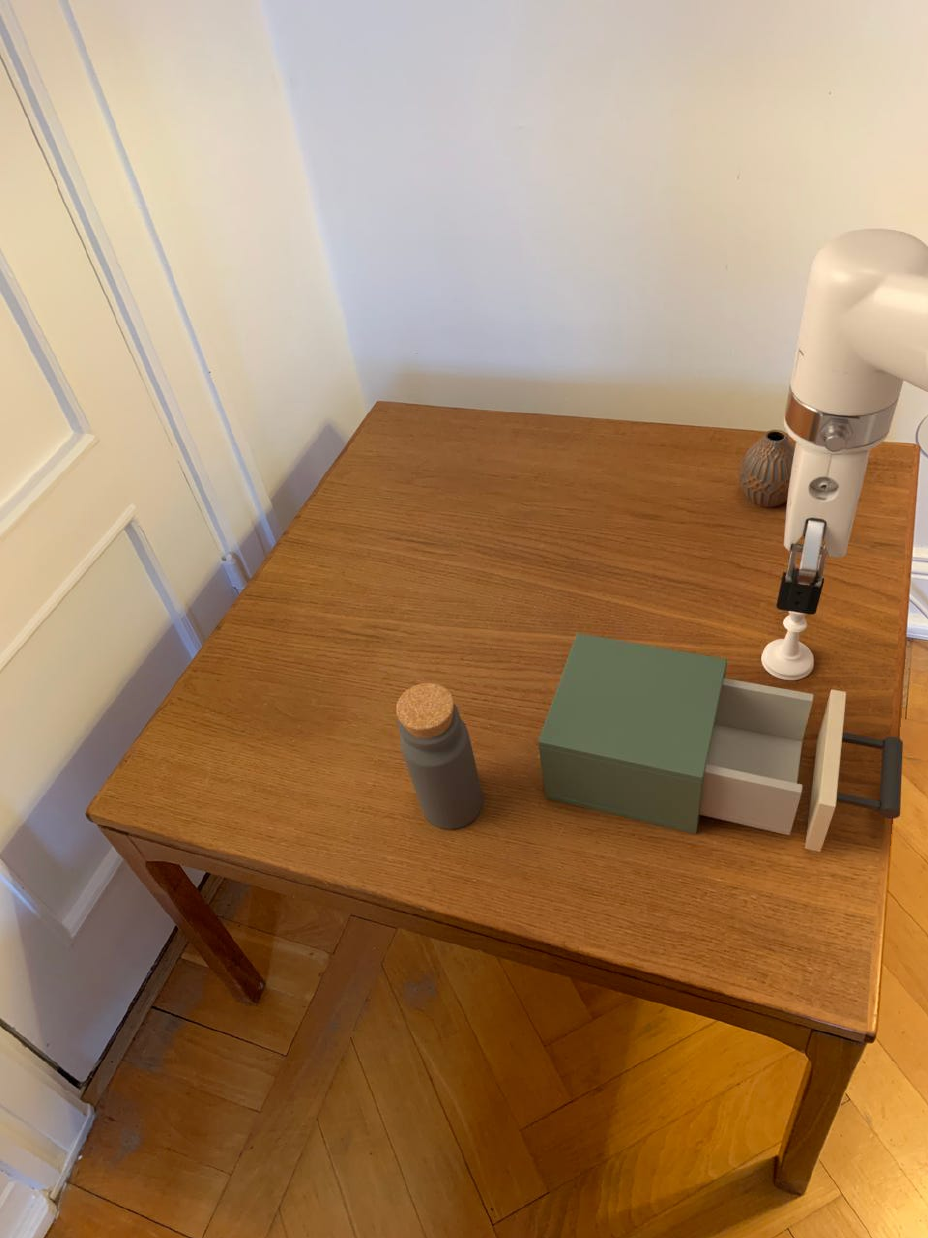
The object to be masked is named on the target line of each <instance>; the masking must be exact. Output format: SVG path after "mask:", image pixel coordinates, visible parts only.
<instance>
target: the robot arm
mask: <svg viewBox="0 0 928 1238" xmlns="http://www.w3.org/2000/svg"><path fill="white" fill-rule="evenodd" d="M807 281H808V282H807V286H806V287H807V288H806V292H805V298H804V304H803V310H802V316H801V321H800V327H799V331H798V337H797V343H796V349H795V355H794V361H793V365H792V366H793V367H792V373H791V378H790V383H789V388H788V392H787V393H788V394H787V398H786V399H787V400H786V404H785V410H784V416H783V427H784V430H785V433H786V434H787V436H789V437H790V439H792V440H793V441H794V442H795V445H794V447H795V451H794V457H793V463H792V469H791V476H790V483H789V490H788V499H787V501H786V511H785V522H784V523H785V524H784V535H783V536H784V537H783V546H784V548H785V549H786V550H787V552H790V553H789V557H788V563H787V568H786V572H784V571H783V572H782V577H781V581H780V586H779V591H778V595H777V601H776V609H778V610H781V611H784V612H785V611H787V612H788V611H791V612H797V613H804V614H807V615H810V616H813V615H815V614H816V613H817V611H818V606H819V603H820V599H821V596H822V595H821V594H822V591H823V588H824V583H825V578H824V577H823V576H824V572H825V568H826V567H825V566H826V562H827V557H829V558H835V559H842V558H843V557H845V556H846V554H847V551H848V545H849V542H850V538H851V533H852V529H853V526H854V521H855V517H856V514H857V509H858V505H859V501H860V498H861V493H862V489H863V485H864V481H865V478H866V472H867V467H868V462H869V458H870V453H871V450H872V449H874V448H876V447H878V446H880V445H881V444H882V443H883V442H885V440H886V439H887V438H888V436H889V433H890V430H891V427H892V423H893V419H894V416H895V412H896V409H897V405H898V402H899V398H900V395H901V390H902V389H903V388H902V387H903V384H904V382H906V383H908V384H910V385H912V386H913V387H916V388H918V389H920V390H923V391H924V392H927V393H928V245H927V244H926V243H925V242H923V241H922V240H921V239H920V238H918V237H916V236H914V235H913V234H910V233H907V232H903V231H900V230H895V229H887V228H865V229H864V228H863V229H857V230H855V229H854V230H852V231H847V232H844V233H841V234H839V235H838V236H835V237H833V238H831V239H829V240H828V241H827V242H825V243H824V245H822V247H821V248H820V249H819V250H818V252H817V253H816V255H815V257H814V259H813V261H812V264H811V267H810V272H809V276H808V280H807ZM803 537H804V540H803V544H800V543H798V542H799V541H800V540H801V538H803ZM822 540H823V544H822ZM821 546H822V547H821ZM798 553H801V557H800V561H799V566H798V568H796V564H797V563H796V562H797V558H798V557H797V556H798Z"/></svg>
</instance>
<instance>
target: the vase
mask: <svg viewBox="0 0 928 1238" xmlns="http://www.w3.org/2000/svg"><path fill="white" fill-rule="evenodd" d="M794 451H795V445H794V444H793V443H792V442H791V441H790V439H789V437H788V433H787V432H786V431H783V430H781V429H770V430H768V431H766V432H765V433H764V435H763V436H762V437H761V438H760V439H759V440H757V441H756V442H755V443H753V444H752V445H751V446H750V447H749V448H748V449H747V450H746V452H745V453H744V455H743V457H742V460H741V462H740V464H739V470H738V481H739V487H740V489H741V492H742V494H743V496H744V497H745V498H746V499H747V500H748V501H749V502H751V503H752V504H754V505H755V506H758V507H762V508H773V507H777V506H780V505H782V504H784V503H787V499H788V490H789V483H790V476H791V469H792V463H793V457H794Z"/></svg>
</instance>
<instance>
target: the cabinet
mask: <svg viewBox="0 0 928 1238" xmlns="http://www.w3.org/2000/svg"><path fill="white" fill-rule="evenodd" d="M727 667H728V658H725V657H717V656H712V655H707V654H701V653H695V652H689V651H684V650H677V649H672V648H666V647H661V646H655V645H649V644H643V643H637V642H633V641H632V642H631V641H626V640H620V639H615V638H609V637H603V636H597V635H592V634H586V633H579V632H577V633H576V635H575V637H574V639H573V643H572V646H571V648H570V651H569V654H568V657H567V660H566V662H565V665H564V668H563V671H562V673H561V676H560V680H559V682H558V685H557V686H556V687H557V688H556V690H555V693H554V695H553V698H552V702H551V704H550V707H549V710H548V713H547V716H546V718H545V721H544V724H543V727H542V730H541V732H540V735H539V737H538V740H537V743H538V751H539V757H540V759H539V760H540V767H541V776H542V781H543V789H544V798H545V799H547V800H550V801H551V800H552V801H556V802H561V803H564V804H569V805H573V806H577V807H581V808H584V809H589V810H593V811H597V812H601V813H606V814H610V815H614V816H618V817H621V818H626V819H631V820H634V821H639V822H642V823H647V824H651V825H654V826H655V825H656V826H660V827H662V828H663V827H664V828H668V829H672V830H676V831H679V832H685V833H689V834H691V835H697V833H698V828H699V823H700V822H699V821H700V818H701V815H700V814H699V812H700V804H701V795H702V787H703V778H704V772H705V767H706V763H707V758H708V753H709V748H710V743H711V738H712V734H713V729H714V724H715V719H716V714H717V709H718V705H719V700H720V695H721V690H722V685H723V680H724V678H726V674H727Z"/></svg>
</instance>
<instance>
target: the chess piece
mask: <svg viewBox="0 0 928 1238" xmlns="http://www.w3.org/2000/svg"><path fill="white" fill-rule="evenodd" d="M787 612H788V615H786V617H785V618H784V619H783V621H782V625H783V627H784V629H786V630H787V631H786V634H785V636H784V638H778V639H775V640H773V641H771V642H769V643H768V644H767V645H766V646H765V647H764V648H763V651H762V653H761V656H760V658H761V659H760V660H761V664H762V667H763V668H764V670H766V671H767V673H769V674H770V675H771V676H773V677H774V678H777V679H780V680H784V681H797V680H802V679H804V678H806V677H807V676H808V675H810V674H811V673H812V671H813V669H814V665H815V657H814V654H813V652H812V650H811V649H810V648H809V647H808V646H807V645H806V644H804V643H802V642H801V641H800V633H801V632H803V631H805V630H806V629H807V627H808V622H807V620H806V618H805V617H806V616H807V615H808V614H804V613H797V612H791V611H787Z"/></svg>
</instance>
